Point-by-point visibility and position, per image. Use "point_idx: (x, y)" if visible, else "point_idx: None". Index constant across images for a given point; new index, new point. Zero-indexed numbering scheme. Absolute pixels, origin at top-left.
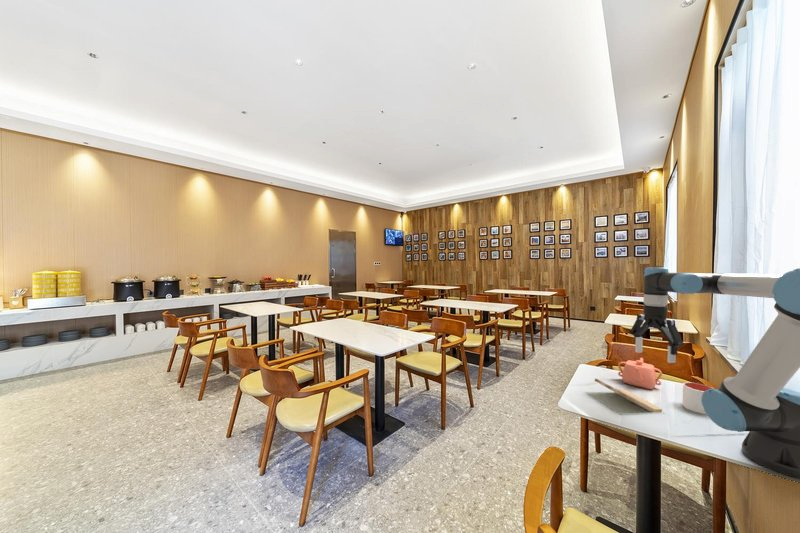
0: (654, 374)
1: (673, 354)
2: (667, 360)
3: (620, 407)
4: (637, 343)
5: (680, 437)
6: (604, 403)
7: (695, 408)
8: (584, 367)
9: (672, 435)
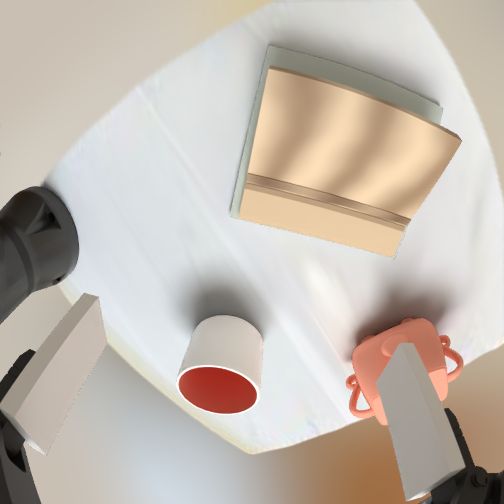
0: (363, 393)
1: (28, 350)
2: (91, 307)
3: None
4: (427, 417)
5: (127, 119)
6: (355, 73)
7: (213, 322)
8: None
9: (139, 106)
